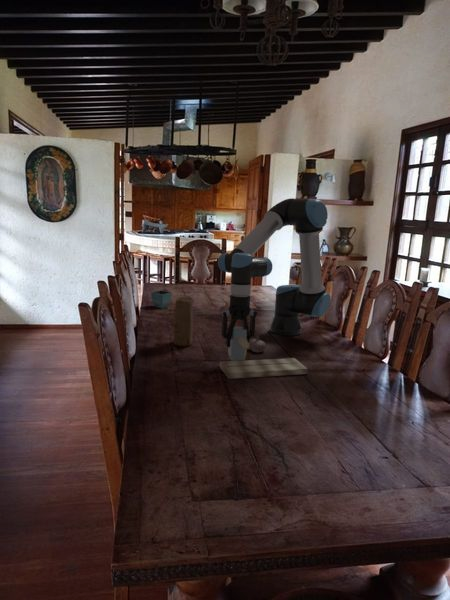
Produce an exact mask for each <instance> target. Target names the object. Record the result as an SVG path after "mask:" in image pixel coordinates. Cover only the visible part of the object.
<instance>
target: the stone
mask: <svg viewBox="0 0 450 600" xmlns="http://www.w3.org/2000/svg"><path fill="white" fill-rule="evenodd" d="M174 306H175V307H174V315H173V344H174V345H175V346H178V347H179V346H180V347H188V346H191V344H192V343H193V336H194V335H193V333H194V300H193V297H189V296H183V297H182V296H181V297H178V298H177V299H176V301H175V305H174Z"/></svg>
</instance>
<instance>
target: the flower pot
mask: <svg viewBox="0 0 450 600" xmlns="http://www.w3.org/2000/svg"><path fill="white" fill-rule="evenodd" d="M150 294H151V296H150V297H151V301H152V304H153V306H154V307H155V308H159V309H164V308H167V307H168V306H169V305H170V303H171V300H172V295H173V292H172V291H166V290H160V289H159V290H156V291H151V292H150Z"/></svg>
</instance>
